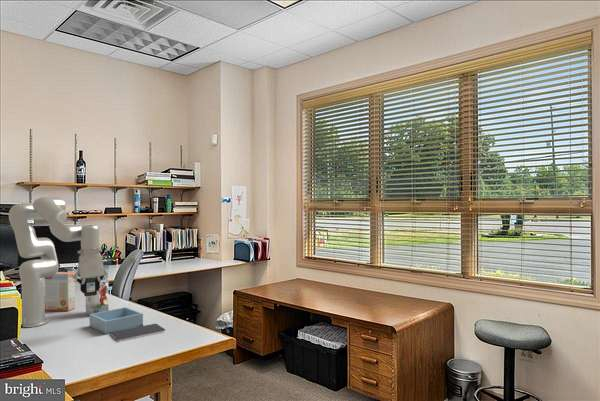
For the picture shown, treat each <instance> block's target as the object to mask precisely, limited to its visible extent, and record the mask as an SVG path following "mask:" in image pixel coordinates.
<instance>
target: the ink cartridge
mask: <svg viewBox="0 0 600 401" xmlns="http://www.w3.org/2000/svg"><path fill="white" fill-rule="evenodd" d="M84 283H85V285H86V292H85V293H83V295H84V297H86V296H93V295H97V281H96V278H86V279H85V282H84Z"/></svg>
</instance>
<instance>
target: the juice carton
mask: <svg viewBox="0 0 600 401" xmlns="http://www.w3.org/2000/svg"><path fill="white" fill-rule="evenodd" d="M109 267H110V266H109V265H107V264H103V269H104V270H105V271H106V272H107V275H106V276H105V277H104V278H103V279H102V280H101V282H100V289H99V291H97V295H93V296H85V314H86V315H87V316H90V314H93V313H98V312H103V311H108V310H109ZM90 278H95V277H90Z"/></svg>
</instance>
